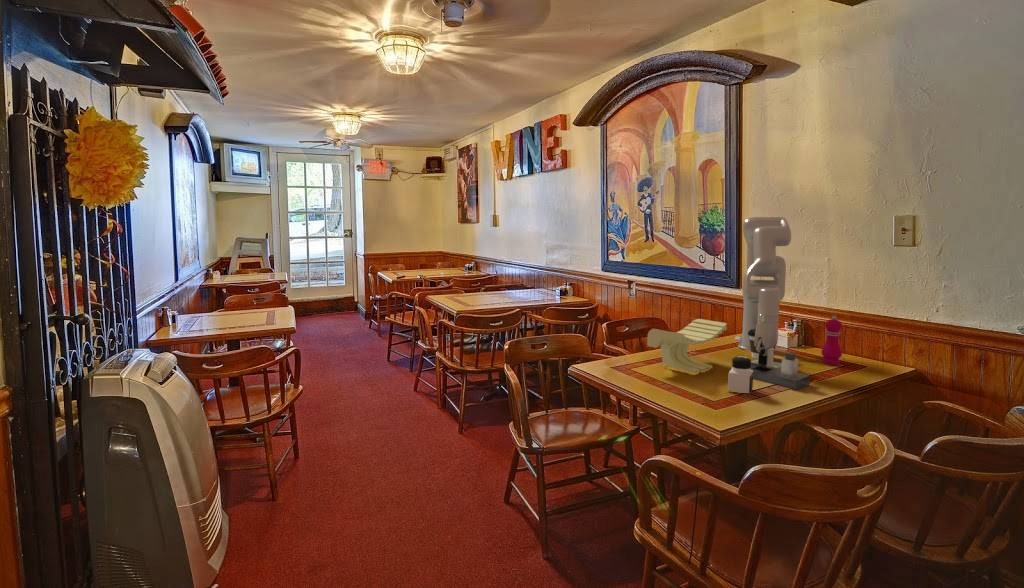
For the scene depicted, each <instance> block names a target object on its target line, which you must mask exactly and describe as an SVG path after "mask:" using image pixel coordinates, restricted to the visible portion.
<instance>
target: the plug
mask: <svg viewBox="0 0 1024 588" xmlns="http://www.w3.org/2000/svg"><path fill="white" fill-rule="evenodd" d="M762 347H764V346H762ZM762 350H763V351H764V349H762ZM774 353H775V349H774V347H769V348H767V353H766V356H767V365H765V366H769V367H773V362H774ZM758 359H759V357H758ZM758 359H757V360H758Z"/></svg>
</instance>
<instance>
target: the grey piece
mask: <svg viewBox="0 0 1024 588" xmlns="http://www.w3.org/2000/svg"><path fill="white" fill-rule="evenodd" d="M784 356H785V357H784V358H782V359H781V363H782V366H781V369H778V368H774V367H769V366H765V365H760V364H756V363H751V370H753V380H757V381H762V382H765V383H770V384H774V385H778V386H783V387H785V388H790V389H792V390H791V391H795V390H796V391H798V390H800V389H803V388H805V387H808V386H810V381H811V375H810V374H809V375H808V374H804V373H800V372H799V361H800V360H799V359H798V358H796V353H794V352H787V353H785V355H784Z"/></svg>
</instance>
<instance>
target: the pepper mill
mask: <svg viewBox="0 0 1024 588" xmlns="http://www.w3.org/2000/svg"><path fill="white" fill-rule="evenodd" d="M824 328H825V329H826V330H825V332H826V333H825V335H826V341H825V343H824V345H823V347H822V349H821V355H822V356H823V357H822V358H821V360H822V361H821V362H822V364H823V363H824V365H826V364H829V365H828V366H839V365H840V364H841V360H840V358H841V357H842V356H843V352H842V351H843V350H842V349H841V346H840V344H839V337H840V336H841V330H842V328H843V324H842V322H841V321H840V320H838V319H837V316H836V315H832V316H831V319H829V320H827V321H826V322H825V323H824Z"/></svg>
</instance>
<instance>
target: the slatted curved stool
mask: <svg viewBox="0 0 1024 588" xmlns="http://www.w3.org/2000/svg"><path fill="white" fill-rule="evenodd" d="M727 329H728V323H726V322H721V321H715V320H714V321H713V320H710V319H702V318H696V319H694V320H692V321H691V322H690V323H689V324H687V325H686V326H685V327H684V328H682V329H680V330H679V331H676V332H674V331H673V332H672V331H668V330H665V329H658V328H651V329H650V330H648V333H647V336H646V337H647V342H646V343H647V344H646V345H647V346H646V347H650V348H655V349H657V348H658V347H660V351H661V352H660V353H661V361H662V364H663V366H664V365H666V366H670V367H674V368H678V369H682V370H685V371H688V372H692V373H697V372H700V371H705V370H707V369H710V370H712V369H713V365H712V364H706V363H704V362H700V361H698V360H695V359H693V358H691V357H690V356H689V355H688V348H689V346H690V345H692V346H697V345H701V344H704V343H708V342H712V341H715V338H718V337H719V335H722V334H723V333H724V332H725V331H727ZM723 331H724V332H723ZM711 368H712V369H711Z"/></svg>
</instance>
